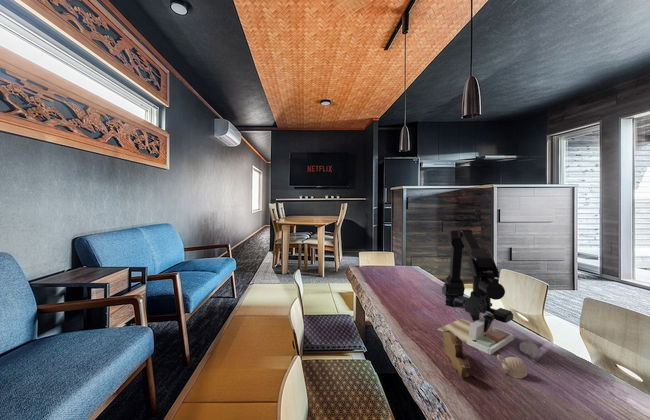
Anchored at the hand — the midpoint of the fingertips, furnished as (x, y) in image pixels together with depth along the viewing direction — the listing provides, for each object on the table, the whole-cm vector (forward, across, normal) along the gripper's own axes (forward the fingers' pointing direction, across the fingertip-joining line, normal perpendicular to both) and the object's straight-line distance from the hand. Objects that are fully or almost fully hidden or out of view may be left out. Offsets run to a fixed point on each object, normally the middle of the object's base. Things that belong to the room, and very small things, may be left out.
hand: (481, 330), depth 95 cm
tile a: (+4, +3, +4) cm, 6 cm away
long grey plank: (+1, 0, 0) cm, 1 cm away
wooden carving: (+4, +3, -22) cm, 23 cm away
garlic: (+4, +13, +4) cm, 15 cm away
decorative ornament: (+4, +14, -11) cm, 19 cm away
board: (+4, -7, 0) cm, 8 cm away
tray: (+4, +3, 0) cm, 5 cm away
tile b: (+4, +3, -3) cm, 6 cm away
